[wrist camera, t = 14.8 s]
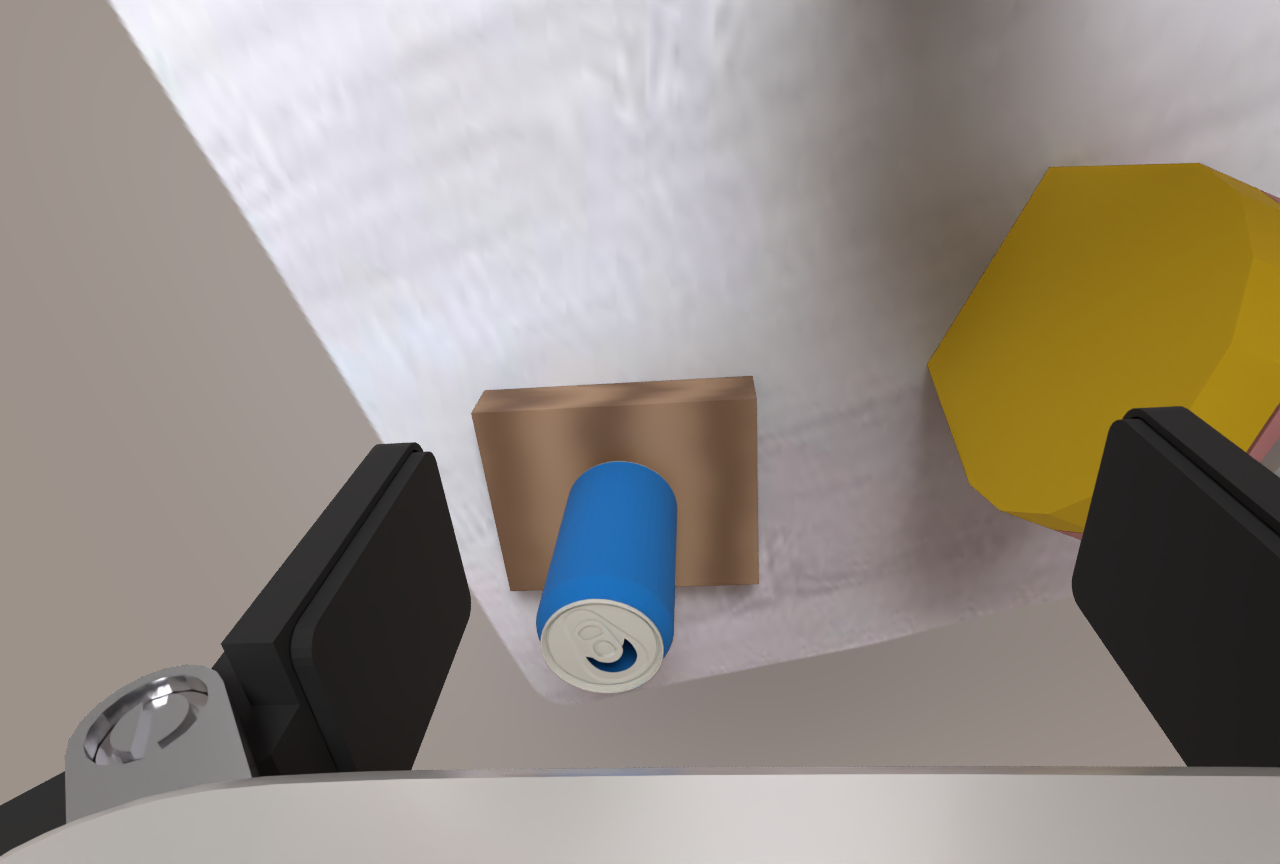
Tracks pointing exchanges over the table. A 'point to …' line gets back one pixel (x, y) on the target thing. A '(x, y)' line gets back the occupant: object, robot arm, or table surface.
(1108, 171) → the alarm clock
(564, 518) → the beverage can
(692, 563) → the walnut board
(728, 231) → the table surface
